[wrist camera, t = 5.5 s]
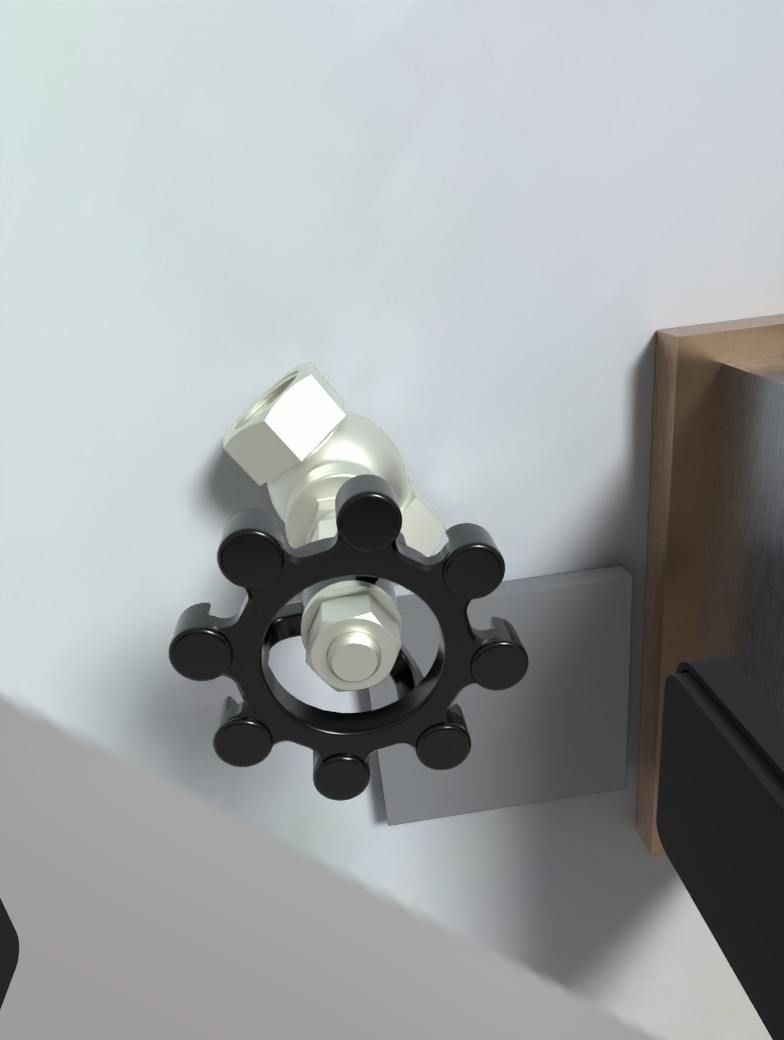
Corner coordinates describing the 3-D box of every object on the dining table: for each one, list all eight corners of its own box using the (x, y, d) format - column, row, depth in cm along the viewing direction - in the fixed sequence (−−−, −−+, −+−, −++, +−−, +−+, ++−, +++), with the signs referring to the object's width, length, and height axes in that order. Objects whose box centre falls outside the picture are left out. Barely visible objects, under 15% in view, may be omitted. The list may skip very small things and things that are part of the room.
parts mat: (621, 564, 27) (632, 576, 26) (616, 771, 30) (625, 788, 30) (356, 602, 26) (358, 616, 25) (386, 807, 30) (388, 825, 29)
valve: (325, 583, 26) (333, 853, 15) (194, 449, 23) (85, 652, 12) (470, 470, 25) (598, 671, 14) (348, 318, 22) (382, 411, 11)
